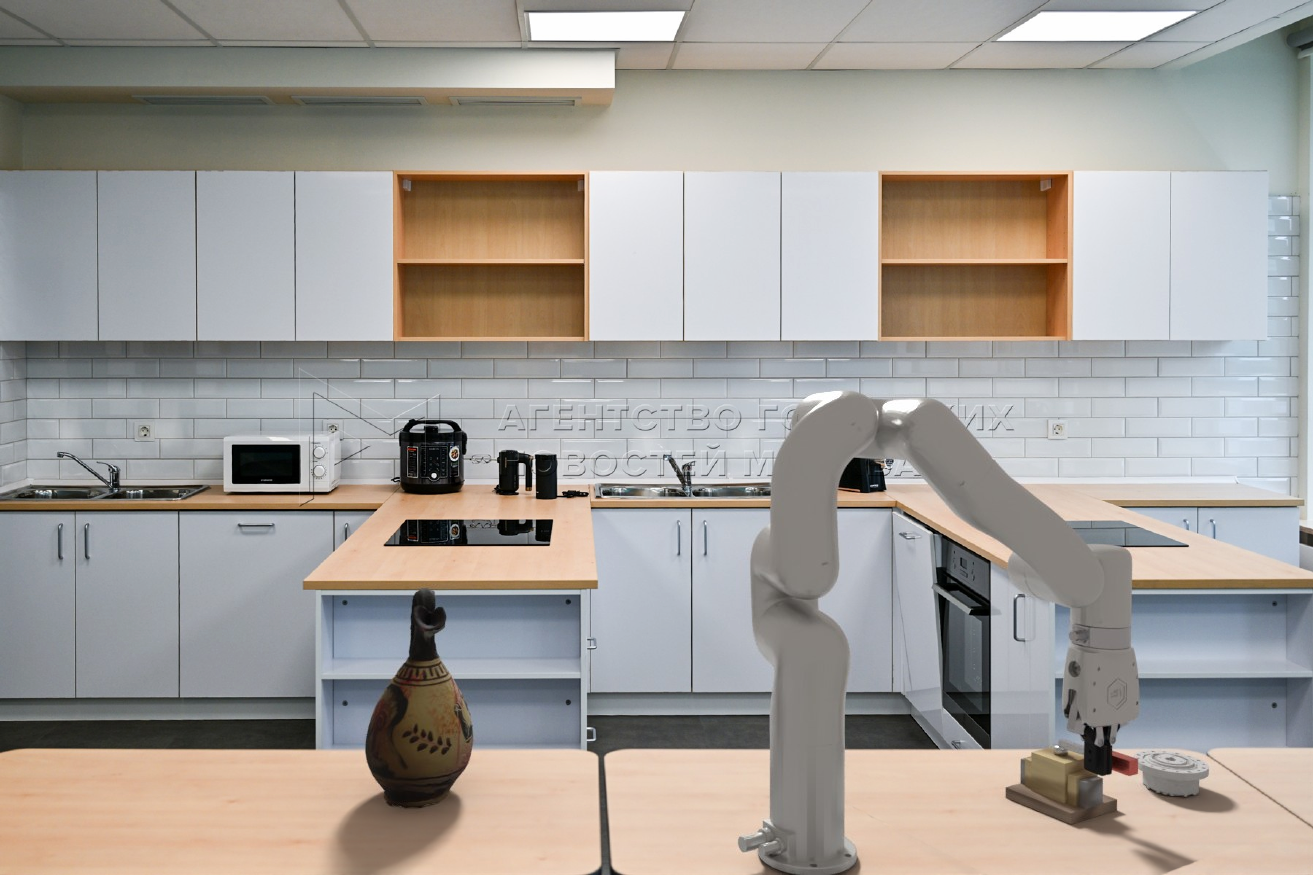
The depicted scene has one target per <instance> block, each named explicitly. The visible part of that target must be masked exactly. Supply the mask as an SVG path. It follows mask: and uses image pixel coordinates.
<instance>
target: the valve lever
mask: <svg viewBox="0 0 1313 875" xmlns="http://www.w3.org/2000/svg"><path fill="white" fill-rule="evenodd" d="M1052 747H1053V753H1054V754H1057V755H1063V756H1064V755H1068V750H1069V751H1072V752H1075V753H1078V754H1081V755H1084V744H1080V743H1076V742H1074V741H1072V740H1068V739H1066V738H1065V739H1064V738H1061V739H1058V742H1057V743H1055V744H1053V746H1052ZM1113 771H1114V772H1117V773H1119V774H1122V775H1125V776H1127V777H1132V776H1136V775H1138V774H1139V769H1138V759H1137V758H1134V756H1130V755H1127V754H1125V753H1120V752H1118V751H1115V750H1112V772H1113Z"/></svg>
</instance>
